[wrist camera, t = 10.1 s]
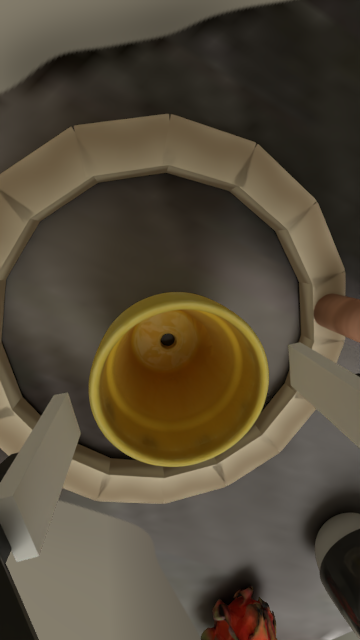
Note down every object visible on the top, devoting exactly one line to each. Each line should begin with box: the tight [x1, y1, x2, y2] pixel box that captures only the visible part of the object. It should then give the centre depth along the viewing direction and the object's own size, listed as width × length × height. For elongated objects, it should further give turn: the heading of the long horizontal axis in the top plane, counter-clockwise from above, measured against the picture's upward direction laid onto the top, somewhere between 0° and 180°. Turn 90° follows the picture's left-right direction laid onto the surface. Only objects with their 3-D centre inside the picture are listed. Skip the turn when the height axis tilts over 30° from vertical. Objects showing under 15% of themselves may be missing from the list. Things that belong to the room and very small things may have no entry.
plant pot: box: [89, 292, 269, 467], centre depth 20 cm, size 10×10×10 cm
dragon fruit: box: [201, 585, 277, 640], centre depth 32 cm, size 8×8×12 cm
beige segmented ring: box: [0, 114, 360, 504], centre depth 21 cm, size 32×32×7 cm
